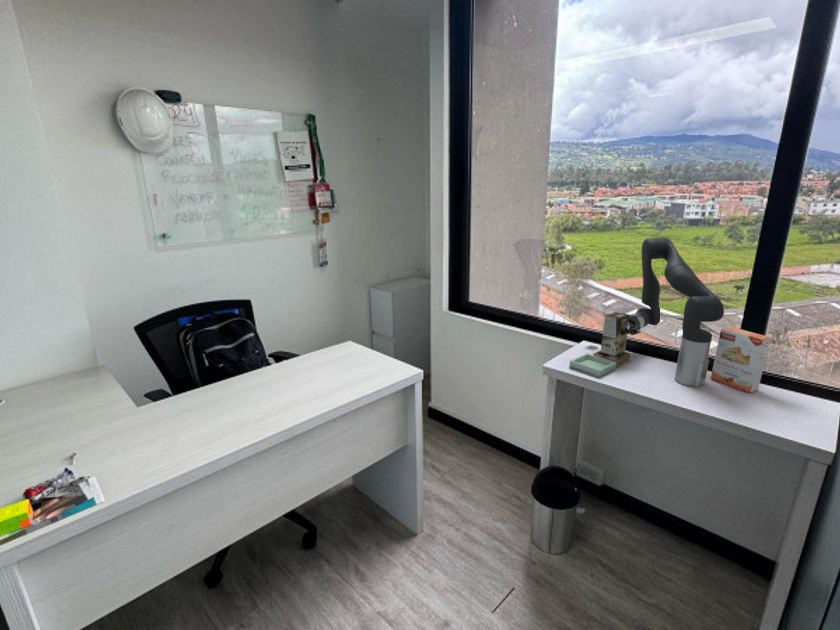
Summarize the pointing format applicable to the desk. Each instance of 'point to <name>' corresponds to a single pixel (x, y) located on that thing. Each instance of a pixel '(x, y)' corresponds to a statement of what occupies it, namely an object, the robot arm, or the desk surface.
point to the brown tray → (621, 359)
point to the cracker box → (740, 358)
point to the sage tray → (592, 365)
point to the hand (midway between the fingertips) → (612, 331)
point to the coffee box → (614, 333)
